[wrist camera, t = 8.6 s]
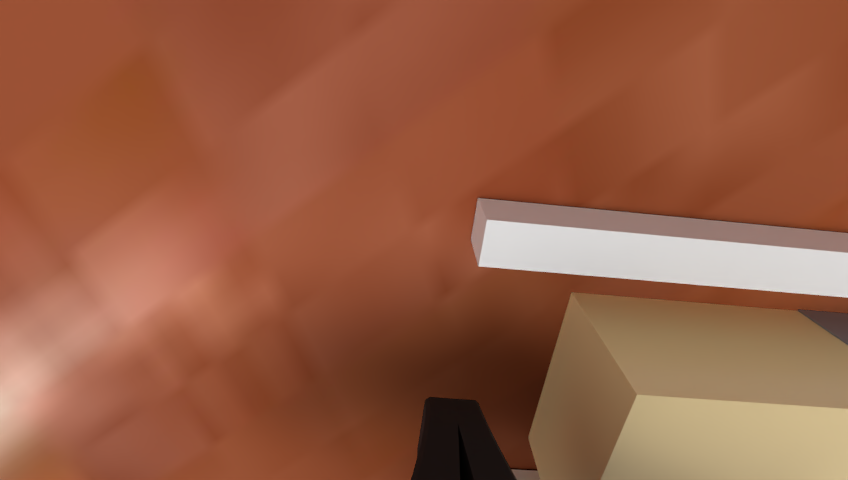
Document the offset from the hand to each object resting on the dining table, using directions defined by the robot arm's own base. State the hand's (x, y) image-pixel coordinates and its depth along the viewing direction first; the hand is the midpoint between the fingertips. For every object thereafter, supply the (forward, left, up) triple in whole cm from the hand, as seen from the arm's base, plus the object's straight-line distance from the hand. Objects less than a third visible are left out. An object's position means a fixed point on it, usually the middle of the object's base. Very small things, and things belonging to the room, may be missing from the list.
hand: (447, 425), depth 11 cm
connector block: (0, -8, -2) cm, 8 cm away
